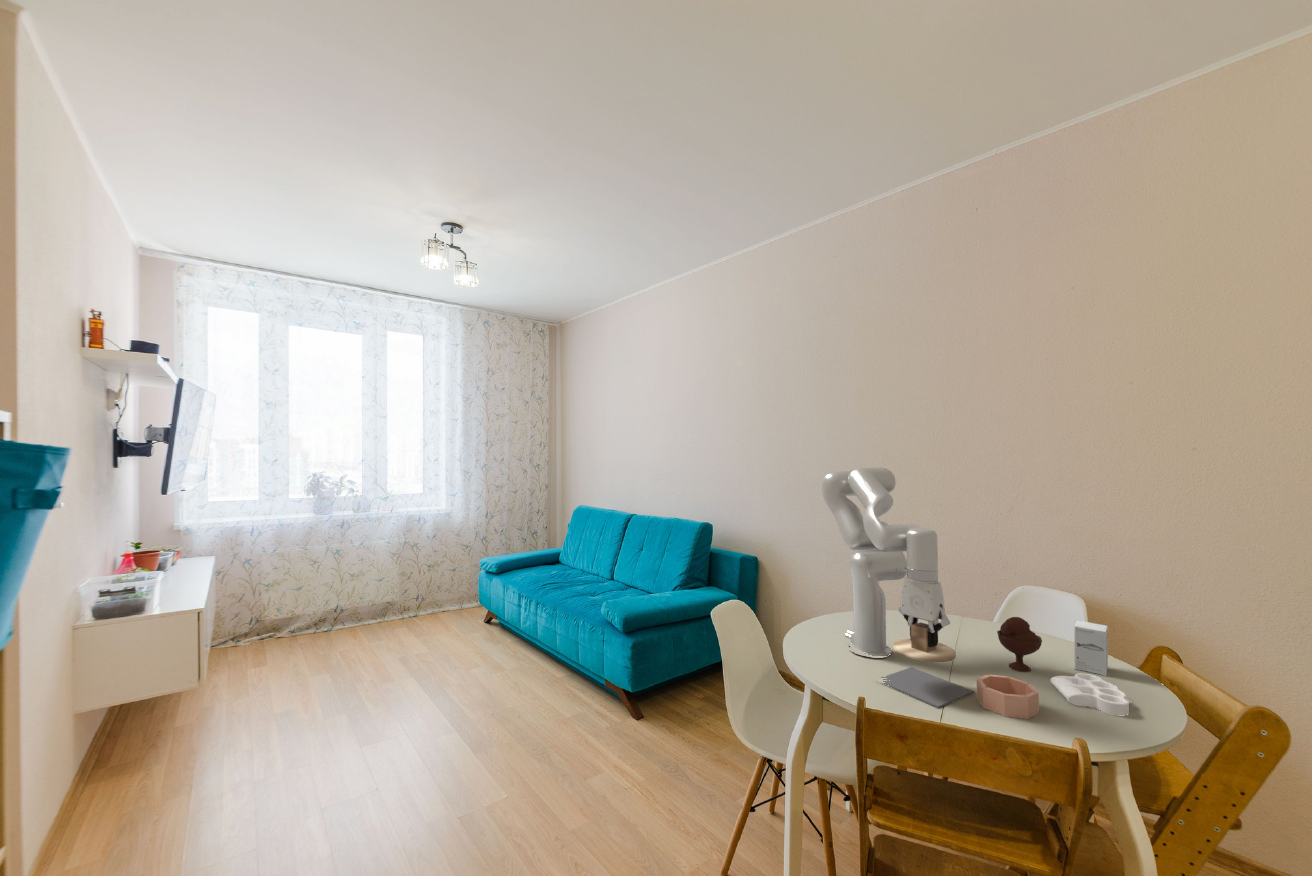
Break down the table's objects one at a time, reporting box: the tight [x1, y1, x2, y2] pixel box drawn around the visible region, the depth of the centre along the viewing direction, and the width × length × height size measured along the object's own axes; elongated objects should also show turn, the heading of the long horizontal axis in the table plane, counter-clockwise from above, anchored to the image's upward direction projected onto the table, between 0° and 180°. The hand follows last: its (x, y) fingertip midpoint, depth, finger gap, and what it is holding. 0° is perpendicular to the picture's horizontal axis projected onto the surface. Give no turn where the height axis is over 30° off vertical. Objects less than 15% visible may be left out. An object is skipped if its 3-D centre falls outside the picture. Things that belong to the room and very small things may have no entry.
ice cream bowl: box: [996, 616, 1043, 673], centre depth 157 cm, size 11×11×15 cm
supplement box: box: [1073, 620, 1109, 677], centre depth 156 cm, size 7×7×13 cm
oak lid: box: [892, 622, 957, 663], centre depth 145 cm, size 15×15×7 cm
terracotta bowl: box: [976, 674, 1040, 719], centre depth 135 cm, size 12×12×5 cm
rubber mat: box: [880, 666, 975, 709], centre depth 145 cm, size 18×16×1 cm
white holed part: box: [1050, 672, 1135, 716], centre depth 138 cm, size 3×18×15 cm
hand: (923, 642), depth 145 cm, fingers closed on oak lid, 4 cm apart
